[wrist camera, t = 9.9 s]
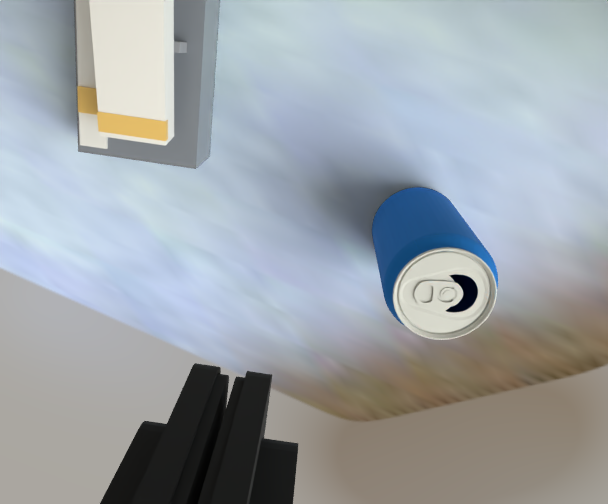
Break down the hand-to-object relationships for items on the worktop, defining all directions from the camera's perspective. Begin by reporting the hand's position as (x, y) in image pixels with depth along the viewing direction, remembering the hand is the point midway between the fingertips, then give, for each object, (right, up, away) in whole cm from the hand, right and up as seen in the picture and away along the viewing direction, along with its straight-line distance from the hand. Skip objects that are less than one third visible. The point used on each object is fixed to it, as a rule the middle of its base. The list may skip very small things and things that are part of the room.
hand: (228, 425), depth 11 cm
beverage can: (+10, +6, +29) cm, 31 cm away
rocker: (-8, +16, +18) cm, 25 cm away
